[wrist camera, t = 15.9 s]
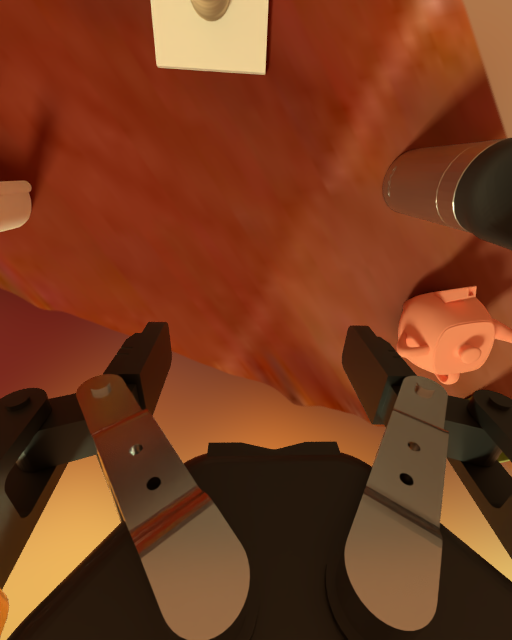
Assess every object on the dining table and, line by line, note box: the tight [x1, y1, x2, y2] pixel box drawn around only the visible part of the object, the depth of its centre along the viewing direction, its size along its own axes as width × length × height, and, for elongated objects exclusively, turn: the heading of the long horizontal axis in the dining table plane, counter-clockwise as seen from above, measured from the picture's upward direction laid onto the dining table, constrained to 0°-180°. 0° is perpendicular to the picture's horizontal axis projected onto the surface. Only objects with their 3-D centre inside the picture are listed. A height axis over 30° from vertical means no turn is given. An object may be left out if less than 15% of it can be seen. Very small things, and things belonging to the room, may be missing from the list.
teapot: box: [397, 286, 512, 384], centre depth 51 cm, size 16×17×14 cm
